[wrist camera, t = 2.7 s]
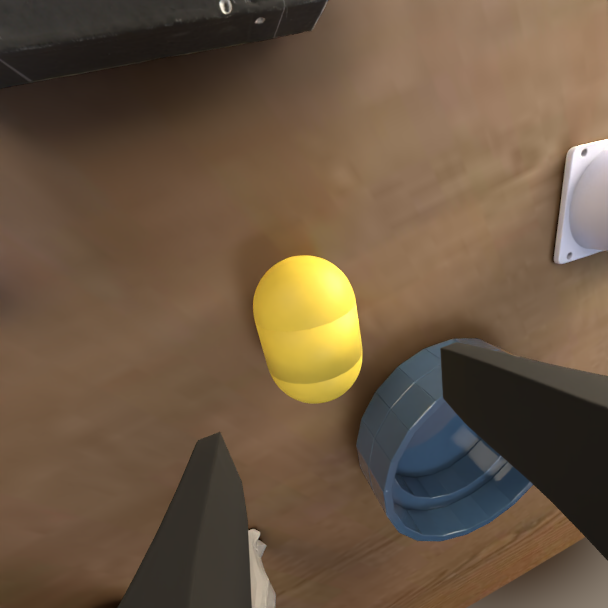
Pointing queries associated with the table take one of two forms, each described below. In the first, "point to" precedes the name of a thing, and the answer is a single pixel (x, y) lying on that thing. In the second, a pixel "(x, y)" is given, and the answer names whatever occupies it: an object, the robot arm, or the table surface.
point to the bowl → (432, 455)
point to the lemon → (308, 328)
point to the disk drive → (133, 31)
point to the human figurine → (259, 574)
